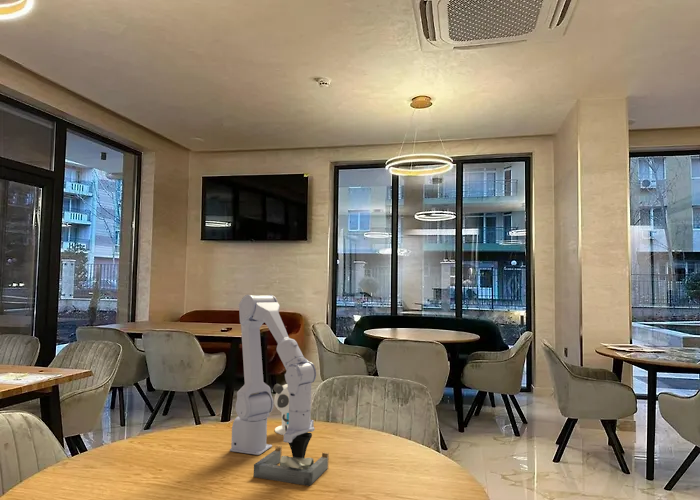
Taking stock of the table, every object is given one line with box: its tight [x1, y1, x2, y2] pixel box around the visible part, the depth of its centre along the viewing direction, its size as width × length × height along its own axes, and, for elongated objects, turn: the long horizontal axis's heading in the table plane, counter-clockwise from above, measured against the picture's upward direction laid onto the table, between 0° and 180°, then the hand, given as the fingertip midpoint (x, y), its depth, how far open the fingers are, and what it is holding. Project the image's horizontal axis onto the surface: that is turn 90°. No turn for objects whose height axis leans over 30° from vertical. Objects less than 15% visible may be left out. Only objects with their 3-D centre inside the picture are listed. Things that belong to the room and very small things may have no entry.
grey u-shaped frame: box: [253, 445, 330, 487], centre depth 122 cm, size 15×12×4 cm
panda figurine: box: [273, 383, 309, 436], centre depth 158 cm, size 12×11×15 cm
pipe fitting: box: [279, 455, 315, 470], centre depth 121 cm, size 8×4×7 cm
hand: (298, 462), depth 126 cm, fingers closed
